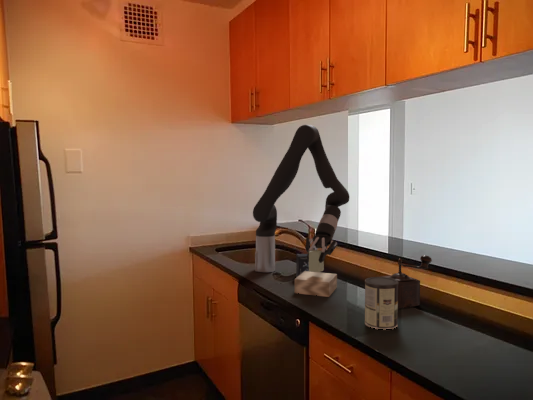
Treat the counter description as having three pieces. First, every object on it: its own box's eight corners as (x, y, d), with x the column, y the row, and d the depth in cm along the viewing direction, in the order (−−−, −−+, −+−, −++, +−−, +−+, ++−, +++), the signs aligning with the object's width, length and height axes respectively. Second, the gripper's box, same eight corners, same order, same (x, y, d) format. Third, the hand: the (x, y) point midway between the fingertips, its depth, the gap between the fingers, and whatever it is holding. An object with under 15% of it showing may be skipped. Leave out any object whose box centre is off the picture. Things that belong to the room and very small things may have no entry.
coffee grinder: (398, 310, 146) (399, 259, 145) (378, 300, 156) (379, 253, 155) (433, 304, 152) (434, 255, 150) (412, 296, 162) (413, 250, 160)
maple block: (294, 293, 166) (294, 279, 166) (304, 284, 179) (304, 271, 179) (329, 297, 161) (329, 282, 161) (336, 288, 174) (336, 274, 174)
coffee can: (379, 316, 140) (380, 275, 139) (404, 326, 131) (405, 282, 130) (357, 322, 134) (357, 279, 133) (381, 333, 126) (382, 287, 125)
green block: (308, 271, 169) (308, 251, 168) (313, 268, 173) (313, 249, 172) (318, 272, 166) (318, 252, 166) (323, 270, 170) (323, 250, 170)
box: (298, 279, 186) (298, 256, 185) (296, 276, 192) (296, 253, 191) (315, 279, 187) (315, 255, 187) (312, 275, 193) (312, 253, 192)
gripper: (309, 220, 178) (295, 253, 169) (340, 223, 170) (327, 257, 161) (314, 231, 183) (301, 264, 174) (345, 234, 175) (333, 268, 166)
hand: (314, 260), depth 168 cm, fingers closed on green block, 4 cm apart
